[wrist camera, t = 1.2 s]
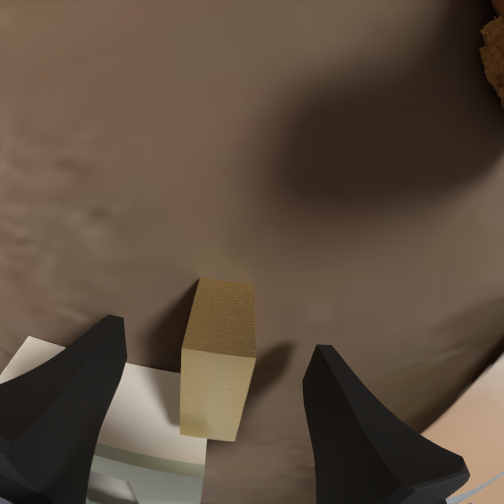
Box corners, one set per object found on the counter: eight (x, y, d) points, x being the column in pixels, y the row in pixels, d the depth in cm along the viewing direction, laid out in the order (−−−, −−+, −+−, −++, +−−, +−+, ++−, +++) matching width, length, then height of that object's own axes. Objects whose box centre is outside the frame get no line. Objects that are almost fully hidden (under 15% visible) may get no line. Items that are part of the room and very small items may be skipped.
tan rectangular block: (236, 368, 14) (234, 441, 10) (192, 362, 13) (180, 434, 10) (253, 284, 12) (256, 358, 8) (200, 276, 12) (181, 348, 8)
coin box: (200, 477, 19) (196, 537, 14) (75, 448, 18) (57, 501, 13) (213, 378, 14) (203, 478, 9) (29, 335, 13) (-20, 405, 8)
